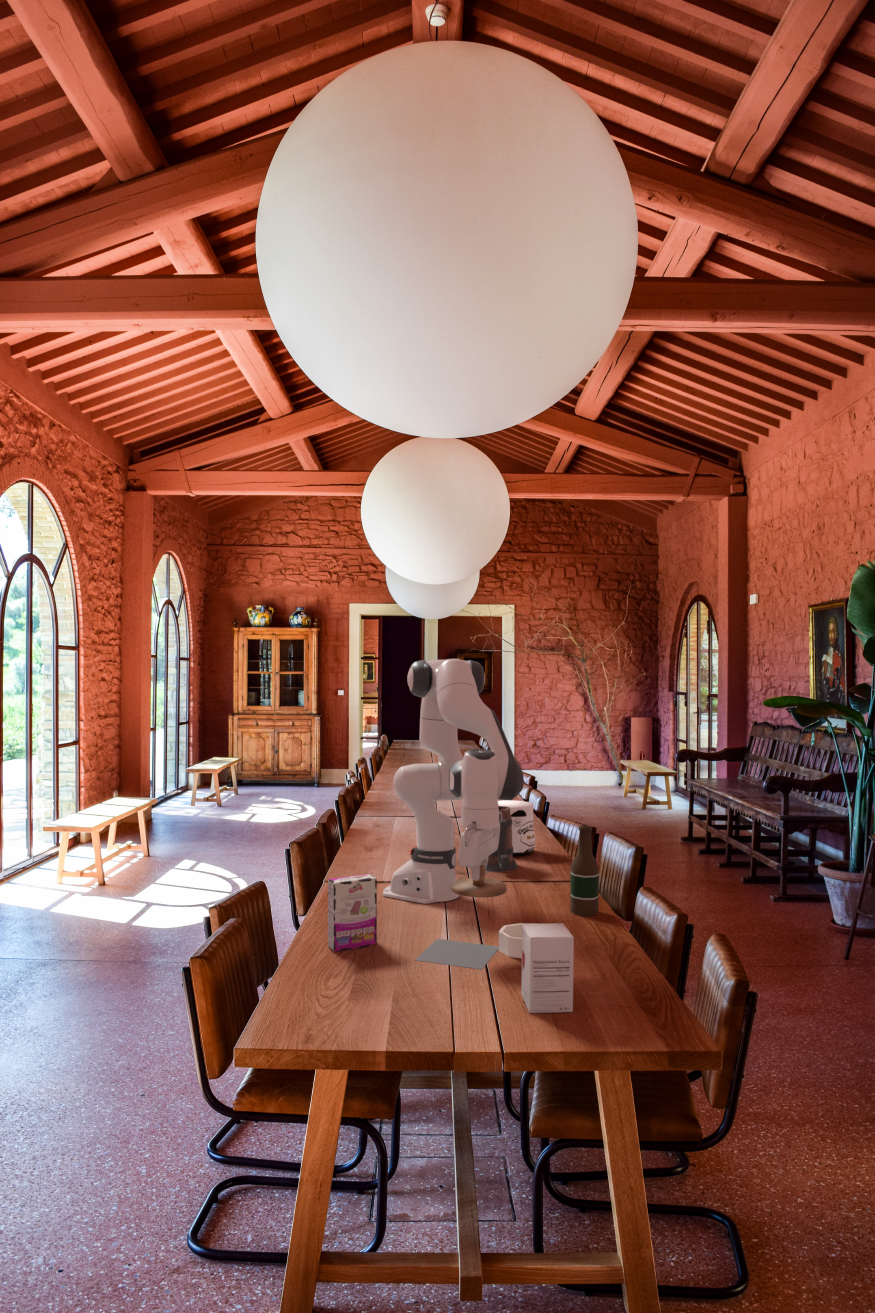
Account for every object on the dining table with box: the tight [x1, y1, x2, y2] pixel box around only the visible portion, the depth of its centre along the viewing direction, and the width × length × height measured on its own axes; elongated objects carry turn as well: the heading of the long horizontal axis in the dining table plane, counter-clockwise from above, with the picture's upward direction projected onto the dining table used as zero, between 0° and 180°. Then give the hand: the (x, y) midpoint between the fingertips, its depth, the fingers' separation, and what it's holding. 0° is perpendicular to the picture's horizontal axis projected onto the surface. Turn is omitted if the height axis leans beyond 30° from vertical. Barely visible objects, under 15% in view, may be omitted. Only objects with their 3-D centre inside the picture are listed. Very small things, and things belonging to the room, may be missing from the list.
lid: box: [451, 865, 507, 898], centre depth 194 cm, size 13×13×6 cm
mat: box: [414, 938, 499, 970], centre depth 193 cm, size 16×16×1 cm
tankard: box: [486, 806, 520, 873], centre depth 279 cm, size 24×17×20 cm
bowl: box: [498, 923, 525, 960], centre depth 196 cm, size 12×12×5 cm
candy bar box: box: [327, 873, 378, 953], centre depth 199 cm, size 11×5×16 cm, turn 117°
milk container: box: [497, 799, 536, 856], centre depth 303 cm, size 17×17×18 cm
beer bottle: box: [569, 824, 600, 917], centre depth 229 cm, size 8×8×24 cm
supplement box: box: [521, 922, 575, 1014], centre depth 166 cm, size 9×9×15 cm
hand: (478, 877), depth 194 cm, fingers closed on lid, 3 cm apart
